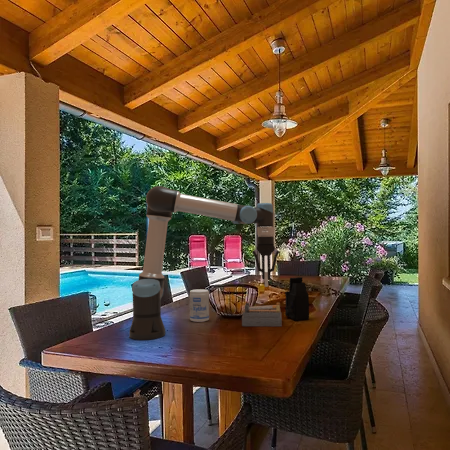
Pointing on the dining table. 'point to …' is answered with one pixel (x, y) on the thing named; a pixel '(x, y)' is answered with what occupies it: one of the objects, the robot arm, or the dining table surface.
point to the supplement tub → (199, 305)
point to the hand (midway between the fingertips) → (266, 286)
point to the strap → (262, 307)
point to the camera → (297, 300)
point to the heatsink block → (262, 316)
